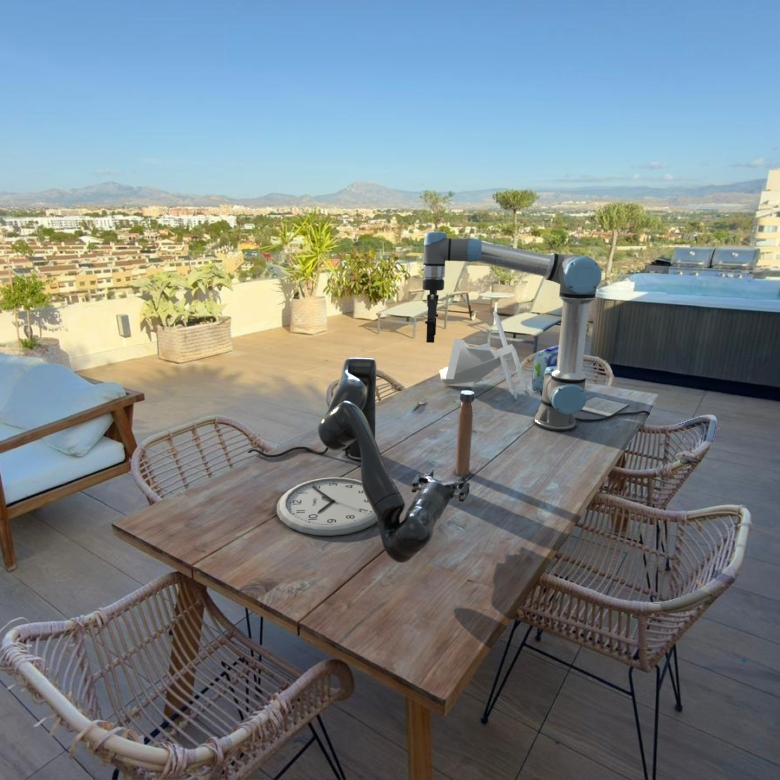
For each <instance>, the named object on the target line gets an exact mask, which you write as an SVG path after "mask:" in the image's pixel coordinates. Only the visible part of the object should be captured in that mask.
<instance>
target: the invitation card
mask: <svg viewBox="0 0 780 780" xmlns="http://www.w3.org/2000/svg"><path fill="white" fill-rule="evenodd" d="M628 406H629V404H627V403H623V402H618V401H614V400H609V399H605V398H601V397H596V396H593V397H592V398H590V399H587V400H586V404H585V406H584V407H583V408H582V409H581V410H580V411H584V412H587V413H593V414H596V415H600V416H604V417H607V416H610V415H613V414H617V413H619V411H621V410H623V409H624V408H626V407H628Z"/></svg>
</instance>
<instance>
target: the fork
mask: <svg viewBox="0 0 780 780" xmlns="http://www.w3.org/2000/svg"><path fill="white" fill-rule="evenodd" d="M427 399H428V397H424V396H422V397H421V398H420V400H419V402H418V403H419V404H417V405H416V406H415V408H413V412H415V411H416V410H419V408H420V406H421V405H425V404H426V403H427Z"/></svg>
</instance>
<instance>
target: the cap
mask: <svg viewBox="0 0 780 780" xmlns="http://www.w3.org/2000/svg"><path fill="white" fill-rule="evenodd" d="M459 400H460V401H461V403H462V402H472V403H473V402H474V401H475V391H473V390H461V391H460V396H459Z"/></svg>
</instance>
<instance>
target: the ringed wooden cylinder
mask: <svg viewBox="0 0 780 780" xmlns="http://www.w3.org/2000/svg"><path fill="white" fill-rule="evenodd" d="M473 411H474V409H473V402H462V401H461V404H460V408H459V413H458V428H457V443H456V444H457V445H456V461H455V462H456V464H455V474H456V475H458V476H460V477H461V475H464V477H466V476H468V475H469V474H470V463H471V450H472V449H471V448H472V436H473V434H472V433H473V420H474V412H473Z"/></svg>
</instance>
